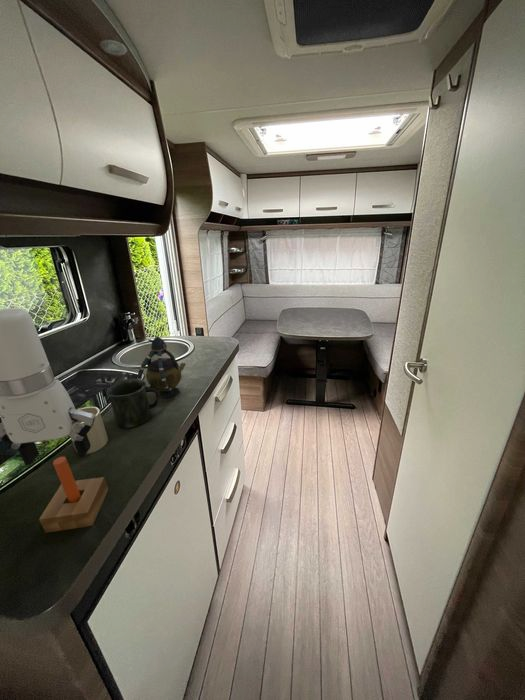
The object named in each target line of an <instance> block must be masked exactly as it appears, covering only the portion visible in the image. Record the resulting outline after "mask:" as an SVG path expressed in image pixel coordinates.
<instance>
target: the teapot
mask: <svg viewBox="0 0 525 700" xmlns="http://www.w3.org/2000/svg"><path fill="white" fill-rule="evenodd" d="M147 341H149V342H150V343H151V345H150V347H151V348H150V349H151V350H150V351H149V353H148V355H147V356H146V357H145V358H144V359H143V361H142V363H141V365H140V367H139V369H138V373H137V376H136V379H141V380H143V379H142V377H143V374H144V371H145V368H146V367H147V368H146V375H145V377H146V381H147V383H148V385H149V386H147V385H146V386H145V389H147V388H155V389H157V390H158V392H159V401H158V402H169V401H173V400H175V399H177V398H178V397H179V396H180V395H181V389H180V388H178V387H177V386H178V385H179V384H180V382H181V380H182V372H183V371H184V369H185V367H186V363H185V362H181V363H180V364H179V363H178V362H177V359H176V358H175V356H174V355H173V354H172V353H171V351H169V350H167V349H168V346H167V344H166V342H165V340H163V339H162V338H161V337H159V336H156V337H154V338H153V340H152V339H147ZM164 354H166V355H167V356H168V357H163V356H162V355H164ZM155 355H156V356H157V359H155V360H153V361H152V358H153V357H154V356H155ZM154 394H155V395H154V398H155V400H156V399H157V395H156V393H154ZM176 397H177V398H176ZM174 398H175V399H174ZM168 400H169V401H168Z"/></svg>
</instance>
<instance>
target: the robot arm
mask: <svg viewBox="0 0 525 700" xmlns="http://www.w3.org/2000/svg"><path fill="white" fill-rule="evenodd" d="M79 420H81V421H84V422H85V424H84V425H82V424H80V423H79V422H78V421H79ZM94 420H95V414H92V413H88V412H84V411H80V410H78V409H76V407H75V405H74V403H73V400H72V398H71V396H70V395H69V393H68V391H67V389H66V388H65V387H64V385H63V384H62V382H61V381H60V380H59V379H56V378H55V375H54V373H53V370H52V367H51V364H50V362H49V360H48V357H47V353H46V351H45V349H44V346H43V344H42V341H41V338H40V336H39V333H38V331H37V327H36V325H35V323H34V320H33V318H32V315H31V314H30V313H29V312H28V311H27V310H26V309H23V308H19V307H8V308H0V421H1V422H0V438H1V441H2V442H4V443H7V444H9V445H11V449H13V450H17V451H18V453H19V455H20V457H21V459H22V460H23V461H22V462H23V463H24V465H25V466H30V465H31V464H32V463H34V461H35V460H36V458H37V457H38V456H39V455H40V452H39V449H38V448H37V445H36V442H44V441H51V440H59V439H63V438H66V437H68V436H69V437H70V438H71V437H72V438H74V439H75V442H74V445H75V447H76V450H77V452H76V453H77V455H78V458H80V459H82V458H85V457H86V455H87V454H86V453H87V452H88V450H89V449H90V447H91V445H90V442H89V439H88V436H87V433H88V432H89V431H90V429H91V428H92V426H93V423H94ZM73 428H75V429H76V430H78V431H80V432H79V433H78V432H76V431H75V430H73ZM74 445H73V446H74ZM76 450H75V451H76Z"/></svg>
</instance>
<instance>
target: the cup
mask: <svg viewBox="0 0 525 700" xmlns="http://www.w3.org/2000/svg"><path fill="white" fill-rule="evenodd" d="M77 410H80V411H84V412H88V413H92V414H95V420H94V423H93V426H92V428H91V429H90V431H89V432H88V433H87V436H88V439H89V442H90V445H91V447H90V449H89V450H88V452H87V453H86V455H88V454H89V455H90V454H93V453H95V452H98V451H99V450H102V449H103V448H104V447H105V446H106V445H107V443H108V442H109V436H108V433H107V429H106V426H105V423H104V419H103V416H102V413H101V410H100V408H98V407H97V406H86V407H81V408H79V409H77ZM78 422H79V423H80V424H82V425H84V424H85V422H84V421H81V420H79V421H78ZM73 430H75V431H76V432H78V433H79V432H80V431H78V430H76V429H75V428H73ZM70 439H71V442H72V445H73V447H74V450H75V451H76V453H77V450H76V447H75V445H74V442H75V439H74V438H72V437H70Z"/></svg>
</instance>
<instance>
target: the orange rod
mask: <svg viewBox="0 0 525 700" xmlns="http://www.w3.org/2000/svg"><path fill="white" fill-rule="evenodd" d="M52 465H53V467H54V470H55V472H56V475H57V478H58V479H59V481H60V485H61V484H62V486H63V489H64V491H65V493H66V496H67V498H68V501H69V503H73V502H79V500H80V498H81V495H80V492H79V490H78V487H77V485H76V482H75V481H76V480H75V477H74V474H73V472H72V469H71V467H70V464H69V461H68V459H67V458H66V456H59V457H57V458H55V459H54V460H53V461H52Z"/></svg>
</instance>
